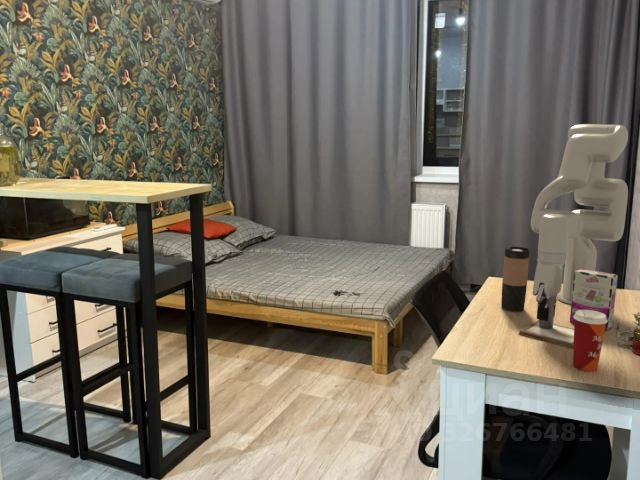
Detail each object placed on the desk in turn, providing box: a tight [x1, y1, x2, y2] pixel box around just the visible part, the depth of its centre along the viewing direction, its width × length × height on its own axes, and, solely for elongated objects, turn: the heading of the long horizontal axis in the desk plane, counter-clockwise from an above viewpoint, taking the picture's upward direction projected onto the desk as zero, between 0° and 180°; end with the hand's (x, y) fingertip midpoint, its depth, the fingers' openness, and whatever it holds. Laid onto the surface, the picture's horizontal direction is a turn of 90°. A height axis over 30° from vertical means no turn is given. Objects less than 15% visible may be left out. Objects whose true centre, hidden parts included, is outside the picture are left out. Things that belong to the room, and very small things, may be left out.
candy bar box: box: [569, 269, 619, 331], centre depth 174 cm, size 11×5×16 cm, turn 47°
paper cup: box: [572, 310, 608, 373], centre depth 144 cm, size 8×8×14 cm
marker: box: [538, 294, 555, 329], centre depth 169 cm, size 4×4×13 cm
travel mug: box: [500, 246, 531, 313], centre depth 189 cm, size 8×8×20 cm
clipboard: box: [518, 319, 574, 349], centre depth 166 cm, size 13×16×2 cm
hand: (545, 317), depth 170 cm, fingers closed on marker, 3 cm apart
